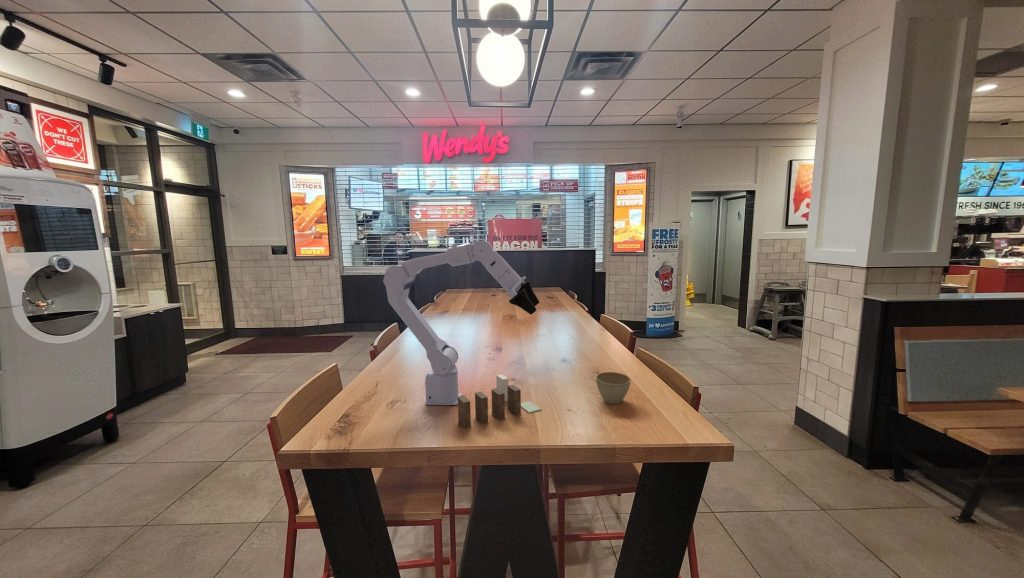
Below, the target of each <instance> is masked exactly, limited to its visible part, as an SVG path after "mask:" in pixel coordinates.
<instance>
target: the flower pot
mask: <svg viewBox="0 0 1024 578" xmlns="http://www.w3.org/2000/svg"><path fill="white" fill-rule="evenodd" d="M595 381H596V385H597V390H598V391H599V394H600V395H601V398H602V399H603V401H604V402H605V403H606V404H611V405H618V404H620V403H622V402H623V400H624V399H625V398H626V396H627V394H628V391H629V389H630V385H631V382H632V379H631V377H630V376H628V374H627V375H626V374H624V373H622V372H621V373H620V372H615V371H605V372H599V373H597V375H595Z"/></svg>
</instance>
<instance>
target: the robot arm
mask: <svg viewBox="0 0 1024 578" xmlns="http://www.w3.org/2000/svg"><path fill="white" fill-rule="evenodd" d="M475 262H480V263H481V264H482V266H483V267H484V268H485V270H486V271H487V272H488V273H490V275H491V276H492V277H493V279H495V281H496V282H497V283H498V284H499V285H500V286H501V287H502V288H503V289H504V290H505V291H506V293H507V295H508V296H509V298H510V299H509V301H508V302H509V303H510V305H513V306H516V307H518V308H519V309H522V310H523V311H525V312H526V313H527V314H529V315H533V314H535V312H537V308H536V306H537V305H539V304H540V300H539V297H537V295H536V293H535V291H534V290H533V287H532V285H531V284H532V283H531V281H530V280H527V281H525V280H526V279H527V277H526V276H525V275H524V276H523V277H521V276H520V275H519V274H518V273H517V271H515V270H514V269H513V268H512V267H511V265H510V264H509V262H507V261H506V259H505V258H503V256H502V255H500V254H499V253H498V252H497V250H495V249H494V247H493V245H492V243H490V241H488V240H485V239H484V240H478V241H476V242H474V240H470V241H469V242H468V243H463V244H458V243H453V244H452V245H451V246H449V247H448V248H447V249H446V251H445V252H442V253H437V254H433V255H431V254H430V255H425V256H420V257H415V258H411V259H408V260H405V261H403V262H399V264H397V265H395V264H394V265H391V266H389V267H387V269H386V270H385V273H384V276H383V281H382V282H383V284H384V286H385V290H386V291H385V292H386V296H387V301H388V304H389V305H390V306H391V308H392V309H393V310H394V312H396V314H397V315H398V316H399V317H400V318H401V320H402V322H403V323H404V324H405V325H406V326H407V327H408V329H409V331H410V332H411V333H412V335H414V337H415V338H416V340H417V341H418V342H419V343H420V344H421V346H422V347H423V348H424V350H425V352H426V353H425V354H426V358H427V360H428V361H429V364H430V366H431V367H430V368H431V370H432V371H428V372H427V373H426V376H425V378H424V379H425V381H424V386H425V388H424V389H425V406H431V405H432V406H458V396H463V394H462V392H459V377H458V376H459V374H458V373H459V372H458V368H457V366H456V364H457V361H458V359H459V352H458V351H457V349H455V347H453V346H450V345H449V344H448V342H446V341H445V340H444V339H442V338H440V337H439V335H437V333H436V332H435V331H434V329H433V328H432V327H431V325H430V324H429V322H428V321H427V320H426V319H425V317H424V316H423V315H422V314H421V312H420V311H419V310H418V308H417V307H416V306H415V305H414V304H413V302H412V301H411V299H410V298H409V294H410V288H411V286H412V284H413V282H414V281H415V279H416V277H417V275H418V274H420V273H421V271H423V269H428V268H432V267H436V266H441V265H444V264H449V265H450V266H451V267H457V266H462V265H463V266H464V265H468V264H472V263H475Z"/></svg>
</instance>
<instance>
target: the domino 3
mask: <svg viewBox="0 0 1024 578" xmlns="http://www.w3.org/2000/svg"><path fill="white" fill-rule="evenodd" d="M495 376H496V377H495V378H496V388H498V389H499V390H501V391H502V392H503V393H504V395H505V403H506V402H508V391H507V386H508V385H509V378H508V377H507V376H505V375H504V374H502V373H500V374H497V375H495Z"/></svg>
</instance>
